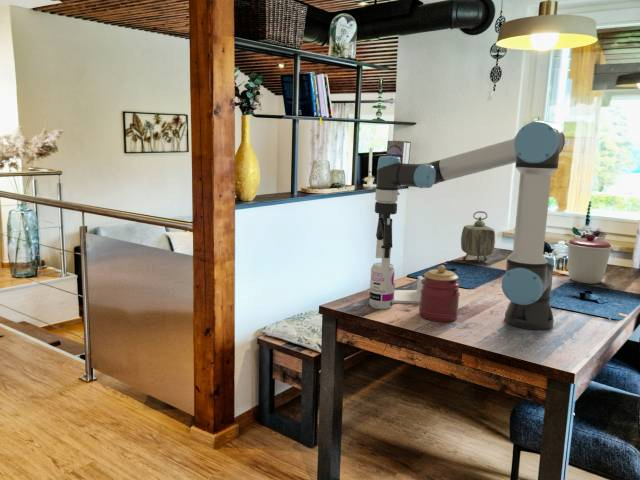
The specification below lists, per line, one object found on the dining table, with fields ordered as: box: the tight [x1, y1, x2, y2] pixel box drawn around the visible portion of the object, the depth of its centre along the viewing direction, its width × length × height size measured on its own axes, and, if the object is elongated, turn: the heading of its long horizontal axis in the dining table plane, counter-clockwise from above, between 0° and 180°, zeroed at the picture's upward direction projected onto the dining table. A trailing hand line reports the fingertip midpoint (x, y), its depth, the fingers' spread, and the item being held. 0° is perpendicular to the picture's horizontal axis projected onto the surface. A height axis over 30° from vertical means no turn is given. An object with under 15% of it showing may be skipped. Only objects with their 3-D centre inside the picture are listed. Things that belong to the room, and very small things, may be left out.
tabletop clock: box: [460, 210, 496, 264], centre depth 272 cm, size 14×9×25 cm, turn 94°
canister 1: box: [418, 264, 461, 323], centre depth 186 cm, size 13×13×18 cm
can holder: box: [393, 275, 425, 305], centre depth 207 cm, size 14×14×7 cm
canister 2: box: [566, 232, 614, 285], centre depth 240 cm, size 18×18×21 cm
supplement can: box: [368, 262, 395, 310], centre depth 195 cm, size 8×8×15 cm
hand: (382, 262), depth 194 cm, fingers open, 13 cm apart
